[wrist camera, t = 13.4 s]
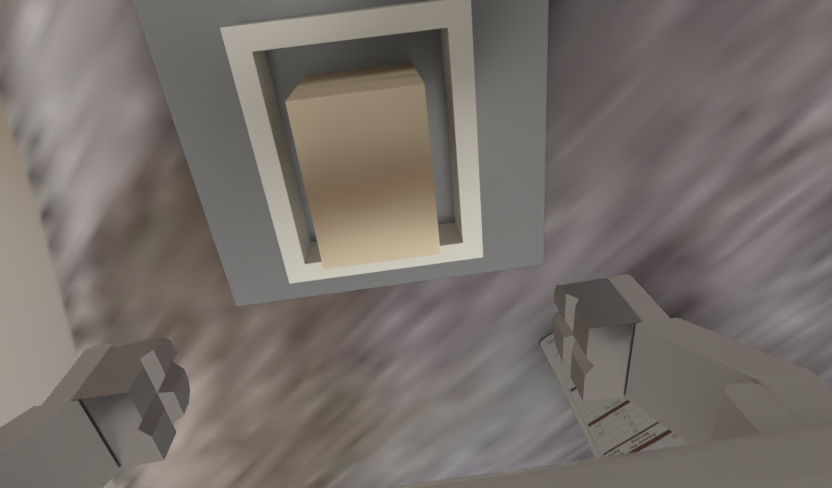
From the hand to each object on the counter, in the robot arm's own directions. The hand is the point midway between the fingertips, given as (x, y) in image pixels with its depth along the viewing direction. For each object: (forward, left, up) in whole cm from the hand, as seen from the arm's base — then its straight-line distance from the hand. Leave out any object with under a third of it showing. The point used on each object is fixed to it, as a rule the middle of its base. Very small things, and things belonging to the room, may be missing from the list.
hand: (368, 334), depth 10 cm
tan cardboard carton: (0, 0, -16) cm, 16 cm away
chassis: (0, 0, -17) cm, 17 cm away
